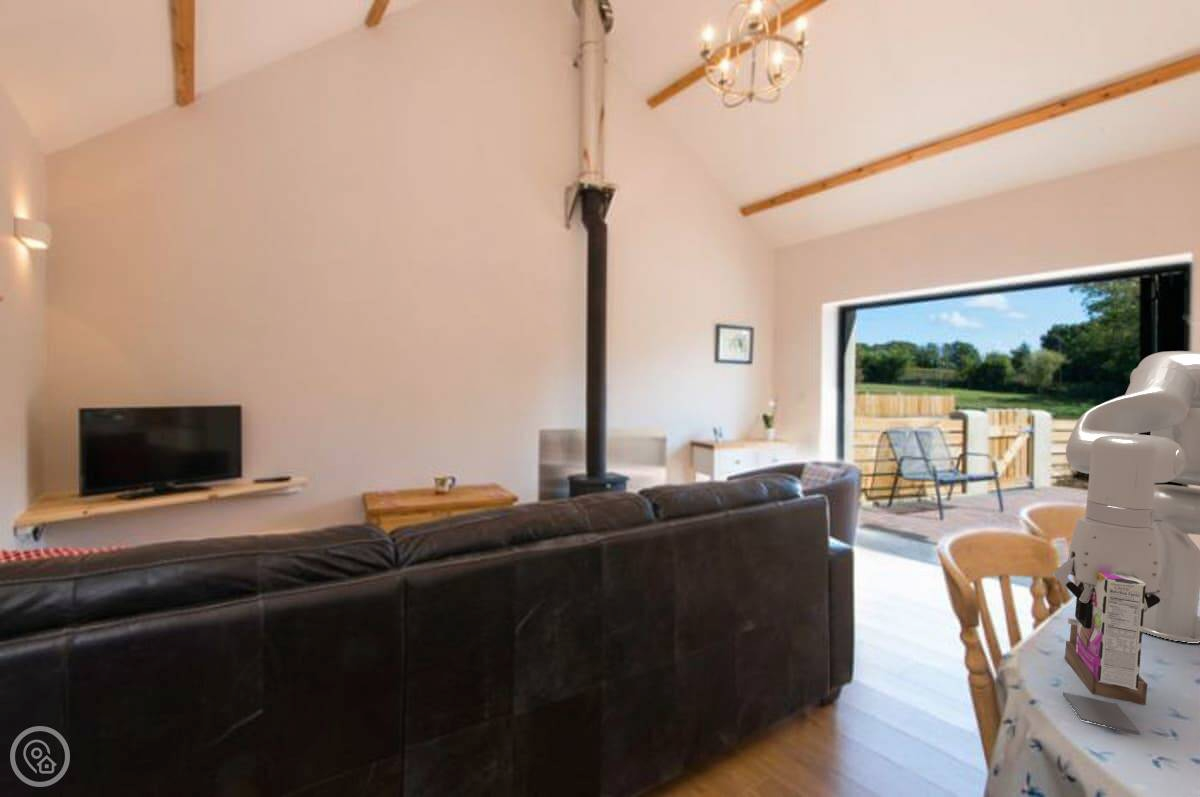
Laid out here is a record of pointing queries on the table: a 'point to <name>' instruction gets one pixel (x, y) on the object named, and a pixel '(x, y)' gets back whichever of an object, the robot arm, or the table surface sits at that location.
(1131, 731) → the pad
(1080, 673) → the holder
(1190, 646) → the table surface
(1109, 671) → the candy bar box
